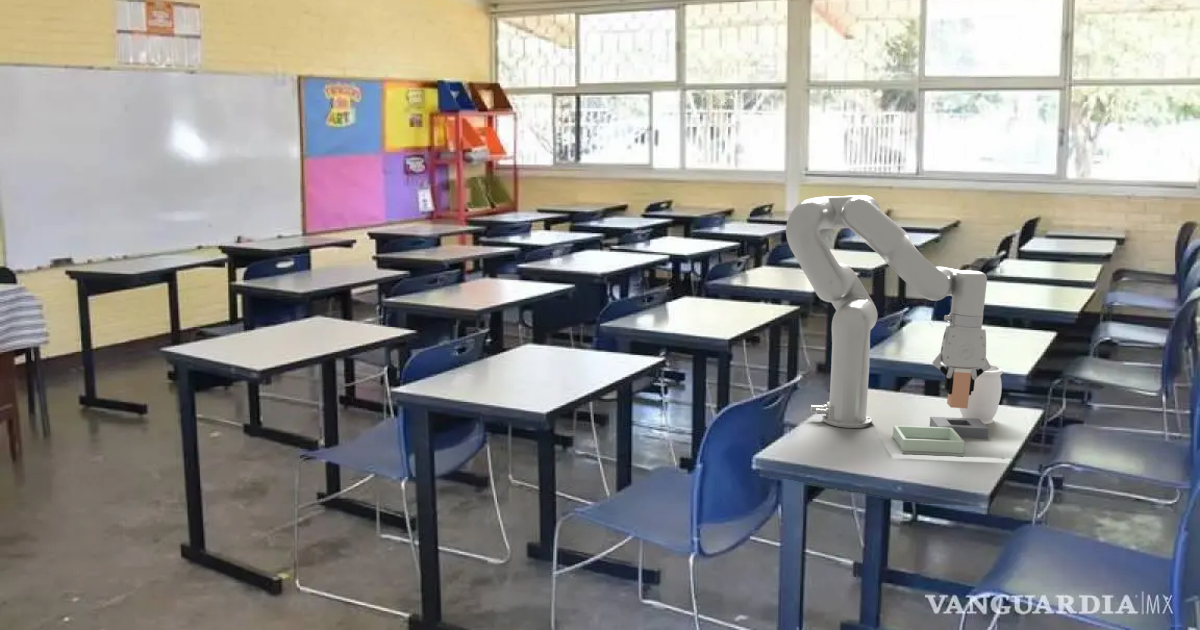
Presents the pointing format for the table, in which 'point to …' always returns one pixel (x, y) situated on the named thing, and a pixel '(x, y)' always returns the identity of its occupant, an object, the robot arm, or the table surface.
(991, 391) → the jar
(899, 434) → the tray
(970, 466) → the table surface
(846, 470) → the table surface
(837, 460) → the table surface
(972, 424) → the grey block
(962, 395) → the plug
